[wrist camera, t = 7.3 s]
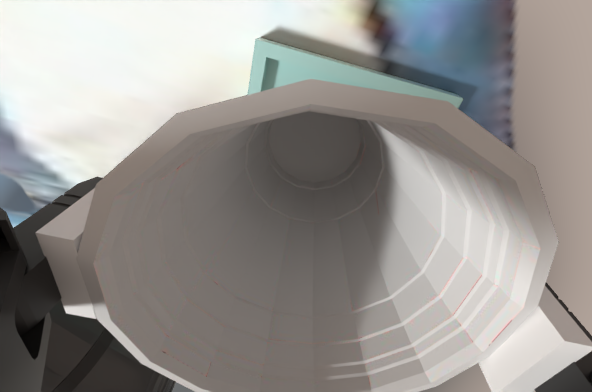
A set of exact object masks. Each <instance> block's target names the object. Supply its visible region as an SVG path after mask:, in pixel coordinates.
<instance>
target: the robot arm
mask: <svg viewBox="0 0 592 392" xmlns="http://www.w3.org/2000/svg"><path fill="white" fill-rule="evenodd" d="M101 179H103V178H100V177H95V178H93V179H90V180H87V181H84V182H81V183H79V184H77V185H76V186H74V187H73V188H71V189H70V190H68V191H67V192H65V194H64V195H61V196H60V197H58V198H57V199H55V200H54V201H53V202H52V204H50V203H49V204H48V205H46V206H45V207H43V208H42V209H41V210H39V211H38V212H36V213H35V214H33V215H32V216H30V217H29V218H27V219H26V220H24V221H23V222H21V223H20V224H19V225H17V226H16V227H14V228H13V227H12V225H11V222H10V220H9V218H8V215H7V213H6V212H5V211H4V210H3V209H1V208H0V392H172V390H173V388H174V385H175V383H176V381H174V380H172V379H170V378H168V377H166V376H164V375H162V374H160V373H158V372H156V371H155V370H153V369H151V368H149V367H147V366H145V365H143V364H141V363H140V362H139V361H138V360H137V359H136V358H135V357H134V356H133V355H132V354H131V353H130V352H129V351H128V350H127V349H126V348H125V347H124V346H123V345H122V344H121V343H120V342H119V341H118V340H117V339H116V338H115V337H114V336H113V335H112V334H111V333H110V332H109V331H108V330H107V329H106V328H105V327H104V326H103V325H102V324H101V323H100V322H99V321H98V320H97V317H96V314H95V311H94V308H93V306H92V303H91V300H90V297H89V294H88V291H87V288H86V286H85V283H84V280H83V277H82V274H81V271H80V268H79V266H78V263H77V260H76V257H77V256H78V255H77V253H78V250H79V246H80V242H81V239H82V235H83V231H84V227H85V224H86V220H87V216H88V213H89V209H90V205H91V202H92V198H93V194H94V190H95V187H96V184H97V183H98V182H99V181H100V180H101ZM478 363H479V365H480V367H481V369H482V372H483V374H484V376H485V378H486V380H487V383H488V385H489V387H490V389H491V391H492V392H533V391H536V392H592V336H591V335H590V333H589V332H588V331H587V330H586V329H585V328H584V326H583V325H582V324H581V323H580V322H579V321H578V319H577V318H576V317H575V316H574V315H573V313H572V312H569V311H568V308H567V306H566V305H565V304H564V303H563V302H562V300H559V299H558V296H557V294H556V293H555V292H554V291H553V290H552V289H551V288H550V286H549V285H548V284H547V283H545V286H544V289H543V292H542V295H541V298H540V301H539V304H538V307H537V308H536V309H535V310H534V311H533V312H532V313H531V314H530V315H529V316H528V318H527V319H526V320H525V321H524V322H523V323H522V324H521V325H520V326H519V327H518V328H517V329H516V330H515V331H514V332H513V333H512V334H511V336H510V337H509V338H508V339H507V340H506V341H505V342H504V343H503V344H502V345H501V346H500V347H499V348H498V349H497V350H496V351H495V352H494V353H493V354H491V355H490V356H489V357H487V358H485V359H484V360H482V361H480V362H478Z"/></svg>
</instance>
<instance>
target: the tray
mask: <svg viewBox="0 0 592 392" xmlns="http://www.w3.org/2000/svg"><path fill="white" fill-rule="evenodd" d="M307 79H316V80H322V81H328V82H334V83H340V84H346V85H352V86H358V87H364V88H370V89H376V90H383V91H389V92H395V93H401V94H407V95H413V96H419V97H425V98H431V99H437V100H443V101H448V102H450V103H451V104H452V105H454V106H455V107H456V108H459V106H460V104H461V102H462V101H463V98H462V97H460V96H459V95H457V94H455V93H452V92H448V91H445V90H442V89H438V88H435V87H431V86H428V85H424V84H421V83H417V82H414V81H410V80H407V79H403V78H400V77H396V76H393V75H389V74H386V73H382V72H379V71H375V70H372V69H368V68H365V67H361V66H358V65H354V64H351V63H347V62H344V61H341V60H337V59H334V58H330V57H327V56H323V55H320V54H316V53H313V52H309V51H306V50H302V49H299V48H295V47H292V46H288V45H285V44H281V43H278V42H274V41H271V40H267V39H264V38H257V39H256V40H255V47H254V54H253V61H252V68H251V75H250V82H249V89H248V95H250V94H254V93H257V92H261V91H265V90H269V89H273V88H277V87H281V86H284V85H288V84H292V83H296V82H300V81H304V80H307Z"/></svg>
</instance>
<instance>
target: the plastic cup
mask: <svg viewBox="0 0 592 392" xmlns="http://www.w3.org/2000/svg"><path fill="white" fill-rule="evenodd" d="M558 243H559V241H558V238H557V235H556V232H555V229H554V225H553V223H552V219H551V216H550V213H549V210H548V206H547V203H546V200H545V197H544V194H543V191H542V187H541V184H540V181H539V178H538V175H537V172H536V168H535V166H533V165H532V164H531V163H529V162H528V161H527V160H525V159H524V158H523V157H521V156H520V155H519V154H518V153H516V152H515V151H514V150H512V149H511V148H510V147H508V146H507V145H506V144H504V143H503V142H502V141H500V140H499V139H498V138H496V137H495V136H494V135H492V134H491V133H490V132H488V131H487V130H486V129H484V128H483V127H482V126H480V125H479V124H478V123H476V122H475V121H474V120H472V119H471V118H470V117H468V116H467V115H466V114H464V113H463V112H462V111H460V110H459V109H458V108H456V107H455V106H454V105H452V104H451V103H450V102H448V101H443V100H437V99H431V98H425V97H419V96H413V95H407V94H401V93H395V92H389V91H383V90H376V89H370V88H364V87H358V86H352V85H346V84H340V83H334V82H328V81H322V80H316V79H307V80H304V81H300V82H296V83H292V84H288V85H284V86H281V87H277V88H273V89H269V90H265V91H261V92H257V93H254V94H250V95H246V96H242V97H238V98H234V99H230V100H227V101H223V102H219V103H215V104H211V105H207V106H203V107H200V108H196V109H192V110H188V111H184V112H180V113H177V114H176V115H174V116H173V117H172V118H171V119H170V120H169V121H168V122H166V123H165V124H164V125H163V126H162V127H161V128H160V129H158V130H157V131H156V132H155V133H154V134H153V135H152V136H150V137H149V138H148V139H147V140H146V141H145V142H144V143H142V144H141V145H140V146H139V147H138V148H137V149H136V150H134V151H133V152H132V153H131V154H130V155H129V156H128V157H127V158H125V159H124V160H123V161H122V162H121V163H120V164H119V165H117V166H116V167H115V168H114V169H113V170H112V171H111V172H109V173H108V174H107V175H106V176H105V177H104V178H103V179H101V180H100V181H99V182H98V183H97V184H96V187H95V190H94V194H93V198H92V202H91V205H90V209H89V213H88V216H87V220H86V224H85V227H84V231H83V235H82V239H81V242H80V246H79V250H78V253H77V255H78V256H77V257H76V260H77V263H78V266H79V268H80V271H81V274H82V277H83V280H84V283H85V286H86V288H87V291H88V294H89V297H90V300H91V303H92V306H93V308H94V311H95V314H96V317H97V320H98V321H99V322H100V323H101V324H102V325H103V326H104V327H105V328H106V329H107V330H108V331H109V332H110V333H111V334H112V335H113V336H114V337H115V338H116V339H117V340H118V341H119V342H120V343H121V344H122V345H123V346H124V347H125V348H126V349H127V350H128V351H129V352H130V353H131V354H132V355H133V356H134V357H135V358H136V359H137V360H138V361H139V362H140V363H141V364H143V365H145V366H147V367H149V368H151V369H153V370H155V371H156V372H158V373H160V374H162V375H164V376H166V377H168V378H170V379H172V380H174V381H176V382H178V383H180V384H181V385H183V386H185V387H187V388H189V389H191V390H193V391H195V392H419V391H422V390H426V389H429V388H432V387H435V386H438V385H440V384H441V383H443V382H445V381H447V380H448V379H450V378H452V377H453V376H455V375H457V374H459V373H461V372H463V371H464V370H466V369H468V368H470V367H471V366H473V365H475V364H476V363H478V362H480V361H482V360H484V359H485V358H487V357H489V356H490V355H491V354H493V353H494V352H495V351H496V350H497V349H498V348H499V347H500V346H501V345H502V344H503V343H504V342H505V341H506V340H507V339H508V338H509V337H510V336H511V334H512V333H513V332H514V331H515V330H516V329H517V328H518V327H519V326H520V325H521V324H522V323H523V322H524V321H525V320H526V319H527V318H528V316H529V315H530V314H531V313H532V312H533V311H534V310H535V309H536V308H537V307H538V304H539V301H540V298H541V295H542V292H543V289H544V286H545V283H546V280H547V276H548V274H549V271H550V268H551V264H552V261H553V258H554V255H555V252H556V249H557V246H558Z"/></svg>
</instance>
